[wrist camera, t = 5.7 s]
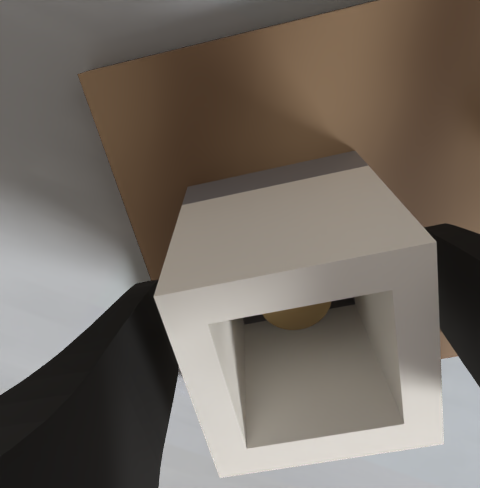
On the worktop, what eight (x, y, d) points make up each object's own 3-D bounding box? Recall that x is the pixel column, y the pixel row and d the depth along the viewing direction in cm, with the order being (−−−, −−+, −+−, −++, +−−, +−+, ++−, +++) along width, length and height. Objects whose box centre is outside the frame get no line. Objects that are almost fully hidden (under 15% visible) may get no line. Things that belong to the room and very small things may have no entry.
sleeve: (355, 150, 13) (436, 241, 8) (371, 294, 15) (443, 443, 10) (187, 187, 14) (153, 296, 8) (226, 321, 16) (219, 477, 10)
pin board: (769, -96, 11) (1062, -160, 7) (674, 299, 17) (815, 389, 12) (88, 70, 13) (20, 93, 9) (196, 381, 18) (184, 484, 14)
